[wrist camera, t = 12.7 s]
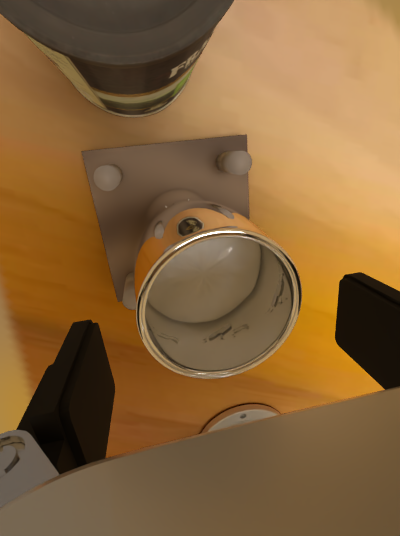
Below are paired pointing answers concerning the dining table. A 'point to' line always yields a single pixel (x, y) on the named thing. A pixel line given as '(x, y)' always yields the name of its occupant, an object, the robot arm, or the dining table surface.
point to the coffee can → (121, 46)
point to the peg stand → (159, 190)
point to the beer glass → (211, 288)
